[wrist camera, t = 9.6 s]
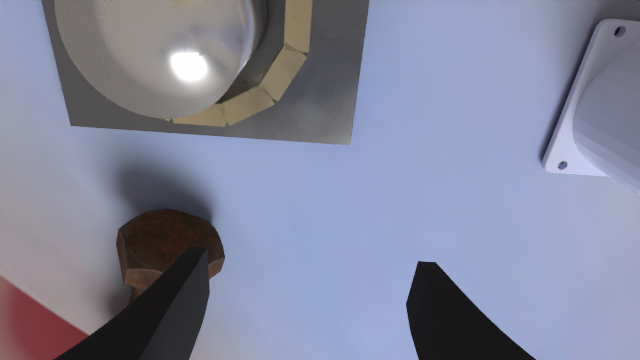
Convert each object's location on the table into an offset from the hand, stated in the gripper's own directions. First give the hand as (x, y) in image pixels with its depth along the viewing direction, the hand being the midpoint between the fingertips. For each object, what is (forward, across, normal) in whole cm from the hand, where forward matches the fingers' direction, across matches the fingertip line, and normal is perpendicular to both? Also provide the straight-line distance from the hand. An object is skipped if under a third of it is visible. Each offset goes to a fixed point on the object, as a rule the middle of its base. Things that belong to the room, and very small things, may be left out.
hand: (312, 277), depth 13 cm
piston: (+8, +5, -7) cm, 12 cm away
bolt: (+10, +9, +12) cm, 18 cm away
